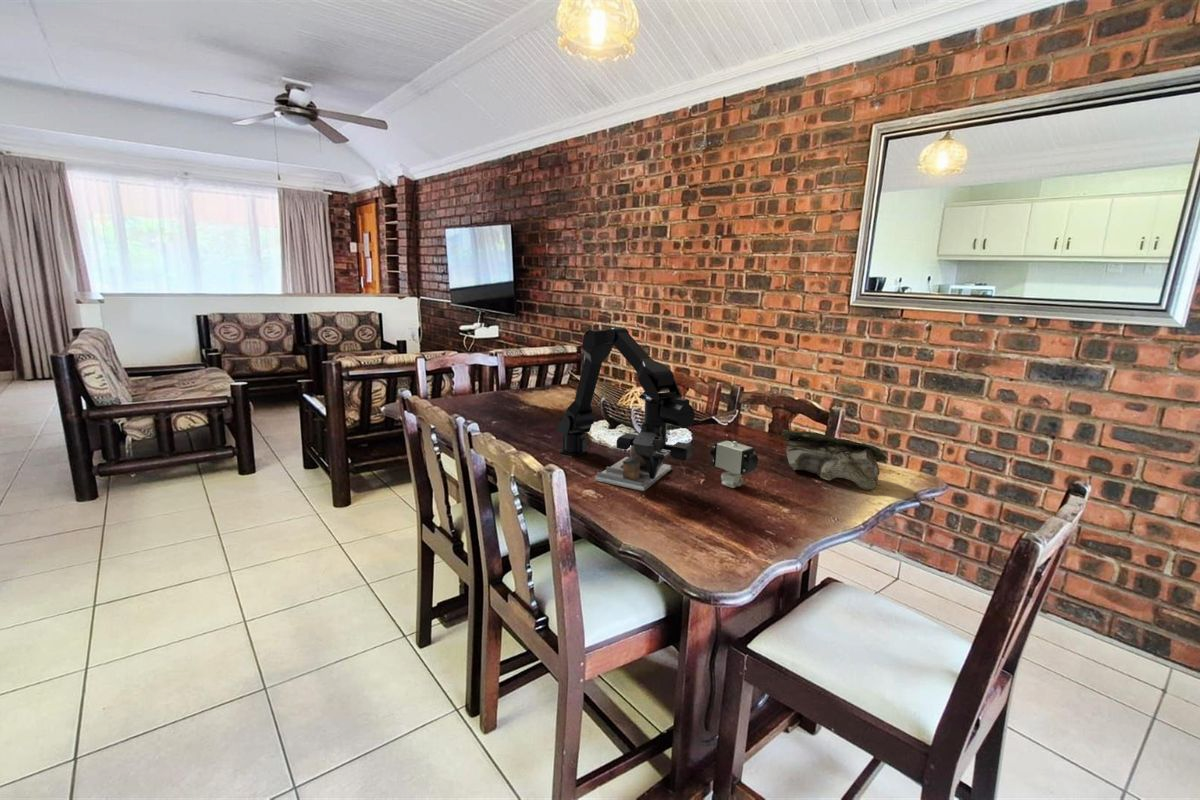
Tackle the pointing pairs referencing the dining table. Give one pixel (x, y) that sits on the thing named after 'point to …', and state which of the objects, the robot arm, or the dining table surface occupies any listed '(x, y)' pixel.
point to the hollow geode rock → (834, 457)
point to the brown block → (631, 468)
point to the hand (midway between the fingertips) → (652, 478)
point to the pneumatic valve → (733, 461)
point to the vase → (637, 457)
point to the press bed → (616, 478)
